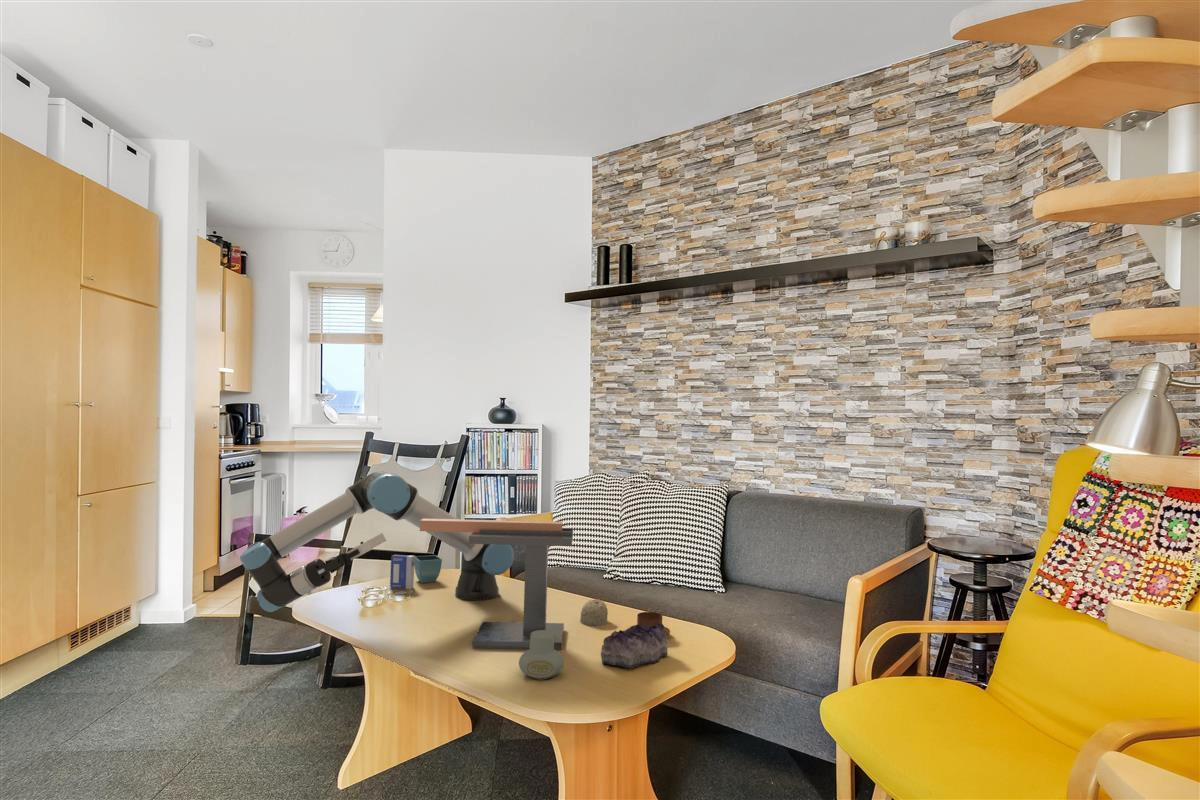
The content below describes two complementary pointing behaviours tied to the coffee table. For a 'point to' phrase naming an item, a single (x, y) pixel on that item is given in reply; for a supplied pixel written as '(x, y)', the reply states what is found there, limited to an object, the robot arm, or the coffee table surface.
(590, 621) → the beige rough dome
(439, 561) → the flower pot
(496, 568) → the robot arm
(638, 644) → the geode
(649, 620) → the cup and saucer
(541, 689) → the coffee table surface
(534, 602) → the stand
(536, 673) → the air freshener
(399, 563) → the walkman
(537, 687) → the coffee table surface
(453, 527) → the block
